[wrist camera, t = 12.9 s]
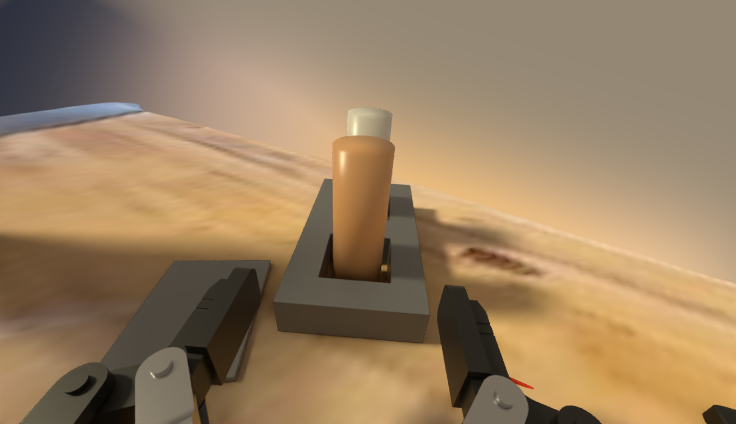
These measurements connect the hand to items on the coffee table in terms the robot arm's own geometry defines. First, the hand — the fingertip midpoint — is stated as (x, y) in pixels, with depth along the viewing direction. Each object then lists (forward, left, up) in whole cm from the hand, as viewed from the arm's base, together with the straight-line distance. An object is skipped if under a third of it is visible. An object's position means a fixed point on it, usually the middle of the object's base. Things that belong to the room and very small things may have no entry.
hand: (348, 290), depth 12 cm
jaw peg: (0, +8, -8) cm, 12 cm away
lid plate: (-11, +5, -9) cm, 15 cm away
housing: (0, +13, -8) cm, 15 cm away
